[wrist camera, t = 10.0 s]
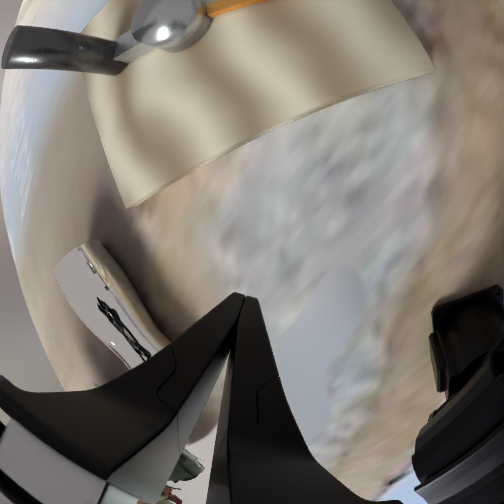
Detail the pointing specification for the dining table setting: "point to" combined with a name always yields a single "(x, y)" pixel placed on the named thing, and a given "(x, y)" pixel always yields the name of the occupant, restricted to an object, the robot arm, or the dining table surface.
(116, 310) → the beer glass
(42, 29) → the cam lever
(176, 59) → the dial board
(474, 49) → the dining table surface
